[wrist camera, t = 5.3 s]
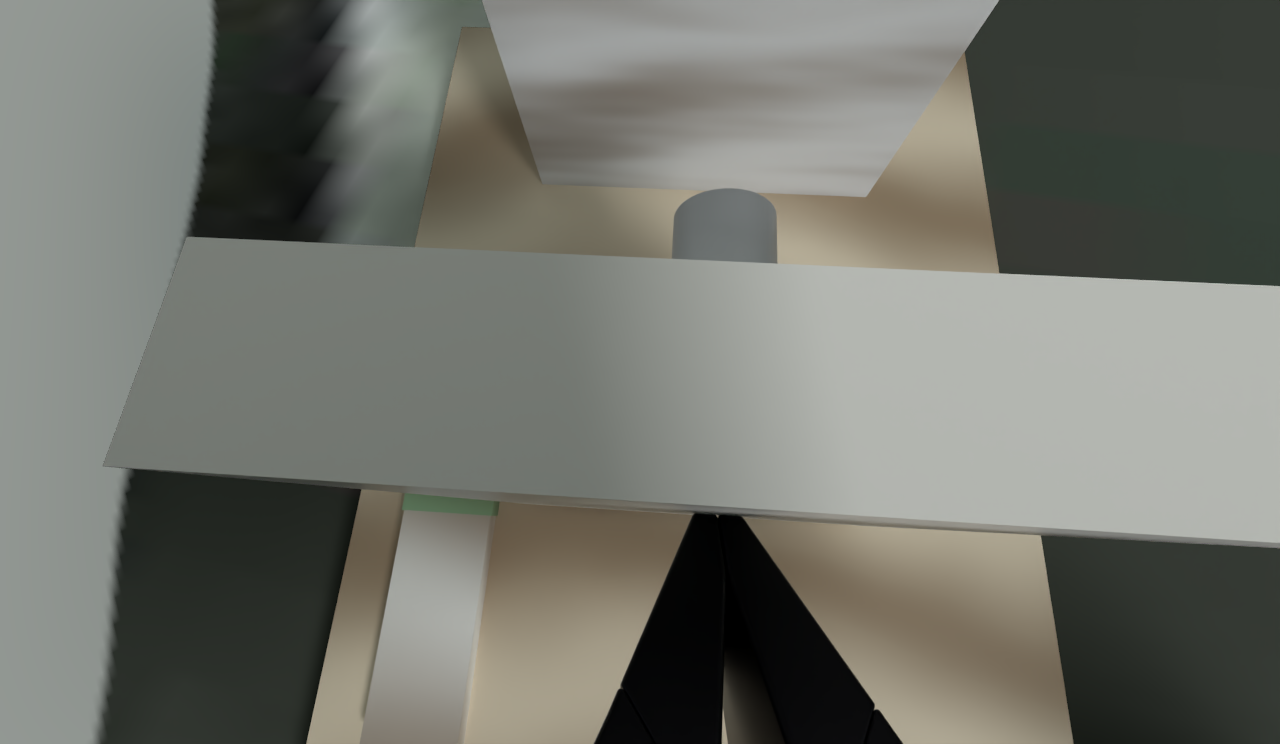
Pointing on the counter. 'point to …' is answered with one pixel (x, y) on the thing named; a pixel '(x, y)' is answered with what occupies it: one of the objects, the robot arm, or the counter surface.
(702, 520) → the robot arm
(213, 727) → the counter surface
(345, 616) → the gauge frame
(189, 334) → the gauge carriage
